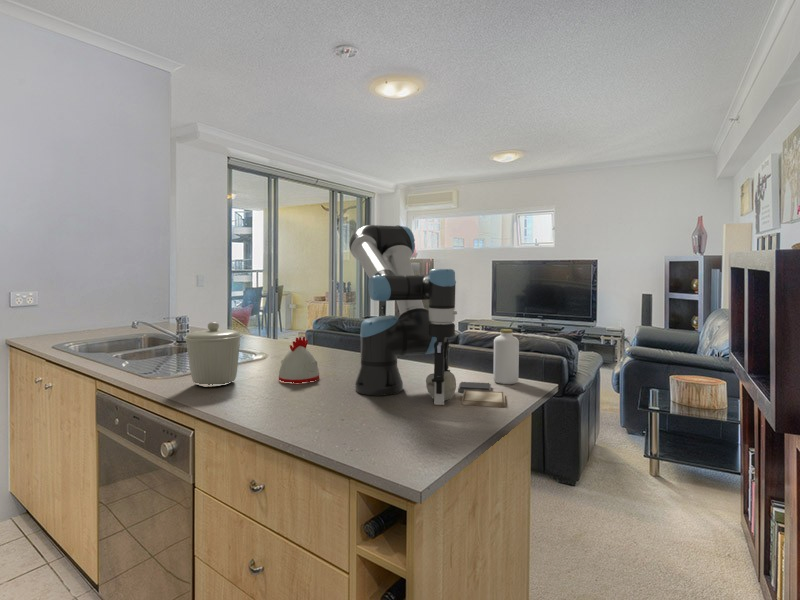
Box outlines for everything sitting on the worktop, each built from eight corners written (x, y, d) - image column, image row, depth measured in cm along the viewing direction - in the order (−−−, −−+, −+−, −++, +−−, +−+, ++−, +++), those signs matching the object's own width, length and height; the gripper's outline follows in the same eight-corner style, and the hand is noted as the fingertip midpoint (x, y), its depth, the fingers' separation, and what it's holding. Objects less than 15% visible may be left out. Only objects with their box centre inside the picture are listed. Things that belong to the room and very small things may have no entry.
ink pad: (458, 392, 140) (458, 387, 140) (459, 385, 148) (459, 381, 148) (490, 393, 138) (490, 389, 138) (490, 387, 146) (490, 382, 146)
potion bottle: (519, 385, 148) (519, 331, 147) (493, 384, 150) (494, 331, 149) (517, 379, 156) (518, 328, 155) (493, 378, 158) (493, 328, 157)
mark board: (461, 404, 127) (461, 400, 127) (464, 393, 139) (464, 389, 139) (505, 406, 125) (505, 403, 125) (504, 395, 137) (504, 391, 137)
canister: (249, 386, 148) (248, 322, 147) (190, 394, 138) (188, 326, 137) (235, 375, 163) (234, 318, 162) (181, 382, 153) (179, 321, 152)
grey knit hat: (327, 378, 160) (326, 336, 159) (299, 386, 148) (298, 341, 147) (299, 373, 167) (298, 333, 166) (270, 381, 156) (269, 338, 155)
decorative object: (451, 406, 125) (452, 371, 124) (422, 402, 128) (422, 368, 127) (459, 397, 133) (459, 364, 133) (430, 394, 136) (431, 362, 136)
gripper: (451, 327, 118) (450, 411, 119) (457, 318, 139) (457, 390, 140) (423, 326, 119) (422, 410, 121) (433, 318, 140) (433, 389, 142)
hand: (441, 399), depth 131 cm, fingers closed on decorative object, 9 cm apart
